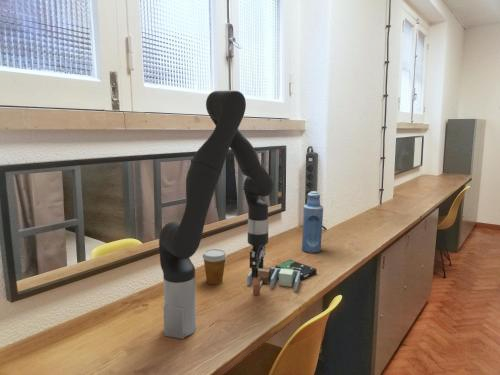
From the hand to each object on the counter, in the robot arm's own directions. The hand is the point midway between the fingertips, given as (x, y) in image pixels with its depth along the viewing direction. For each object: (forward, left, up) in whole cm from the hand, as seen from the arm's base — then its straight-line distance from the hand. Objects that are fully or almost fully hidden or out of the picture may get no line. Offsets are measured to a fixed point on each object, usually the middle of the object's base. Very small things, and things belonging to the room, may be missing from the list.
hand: (257, 272), depth 131 cm
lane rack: (+10, -4, -8) cm, 14 cm away
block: (+12, -9, -8) cm, 17 cm away
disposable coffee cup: (+5, +19, -9) cm, 21 cm away
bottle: (+53, -15, -8) cm, 56 cm away
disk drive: (+24, -11, -9) cm, 28 cm away
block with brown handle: (+6, 0, -8) cm, 10 cm away
